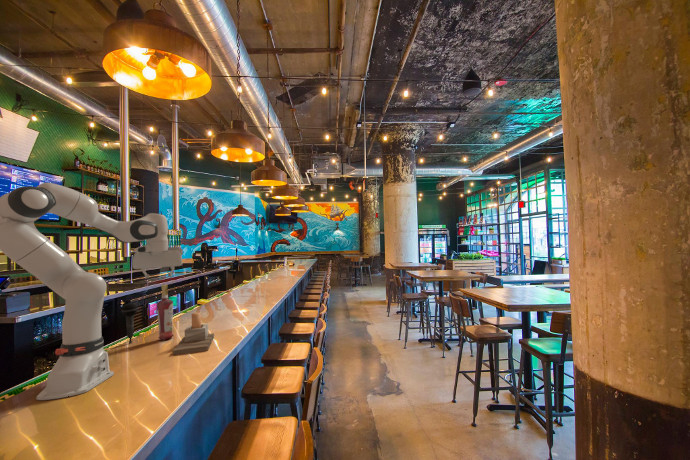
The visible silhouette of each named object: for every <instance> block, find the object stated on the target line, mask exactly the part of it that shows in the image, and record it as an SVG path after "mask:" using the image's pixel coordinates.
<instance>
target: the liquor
mask: <svg viewBox="0 0 690 460" xmlns="http://www.w3.org/2000/svg"><path fill="white" fill-rule="evenodd" d="M156 312H157V323H158V339H159V340H160V341H168V340H171V339H173V337H174V334H173V333H174V332H173V323H174V322H173V320H174V319H173V318H174V317H173V316H174V301H173V300H172V299H169V294H168V284H167V283H165V284H161V300H159V301H157V302H156Z"/></svg>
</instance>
